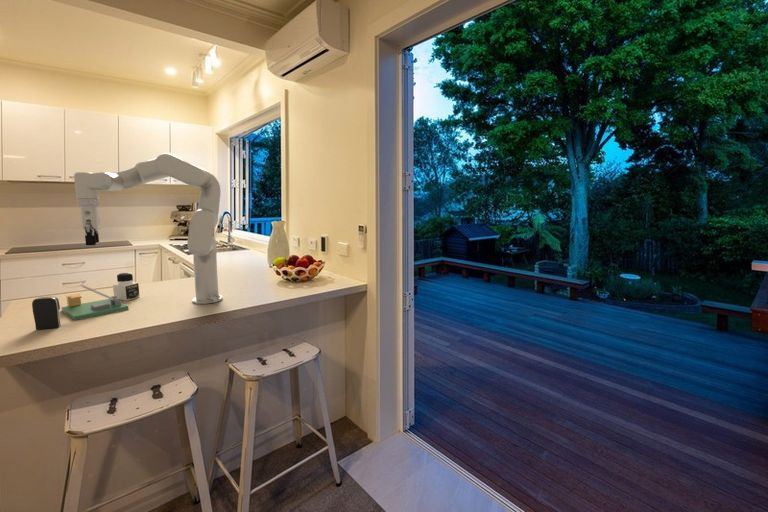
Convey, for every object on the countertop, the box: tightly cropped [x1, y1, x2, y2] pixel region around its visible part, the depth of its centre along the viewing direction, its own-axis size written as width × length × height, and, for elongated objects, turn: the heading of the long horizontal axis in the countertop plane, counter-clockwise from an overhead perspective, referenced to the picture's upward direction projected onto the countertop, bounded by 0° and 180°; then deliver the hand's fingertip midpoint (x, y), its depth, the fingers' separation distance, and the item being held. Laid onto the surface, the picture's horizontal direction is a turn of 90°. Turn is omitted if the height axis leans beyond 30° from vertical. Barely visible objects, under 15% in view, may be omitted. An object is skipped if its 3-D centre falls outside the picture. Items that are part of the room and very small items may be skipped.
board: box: [60, 295, 129, 321], centre depth 156 cm, size 19×18×5 cm
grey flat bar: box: [80, 284, 116, 302], centre depth 154 cm, size 3×14×1 cm
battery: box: [31, 296, 61, 330], centre depth 135 cm, size 7×4×11 cm, turn 112°
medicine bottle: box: [112, 272, 140, 302], centre depth 173 cm, size 7×7×12 cm
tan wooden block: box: [65, 293, 82, 307], centre depth 155 cm, size 6×4×4 cm, turn 52°
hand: (92, 243), depth 157 cm, fingers open, 9 cm apart
